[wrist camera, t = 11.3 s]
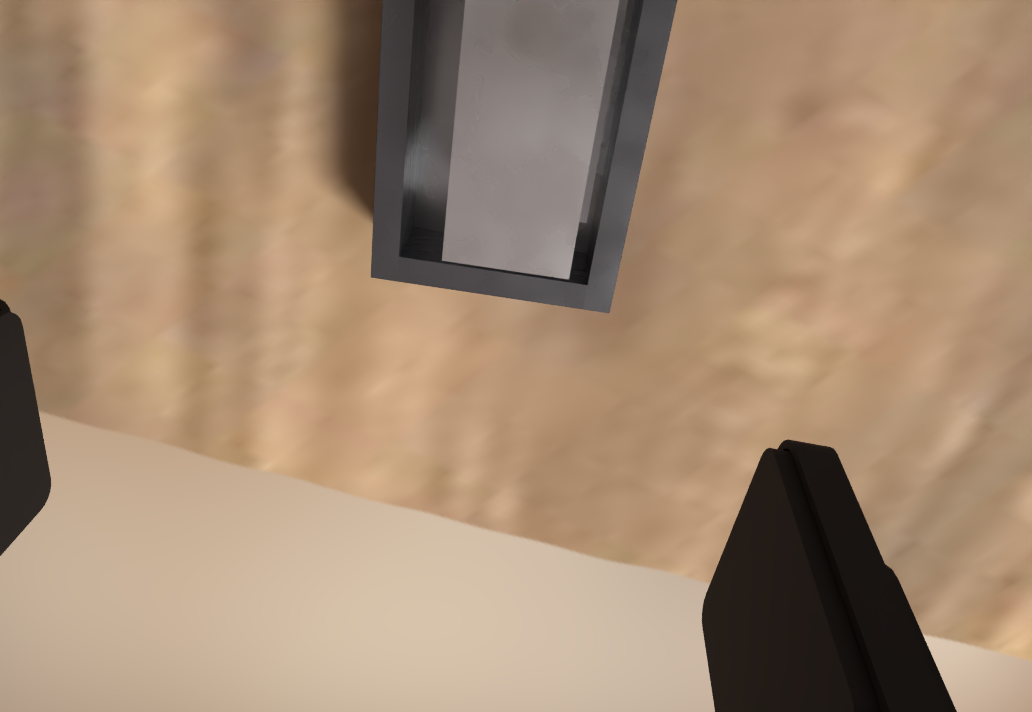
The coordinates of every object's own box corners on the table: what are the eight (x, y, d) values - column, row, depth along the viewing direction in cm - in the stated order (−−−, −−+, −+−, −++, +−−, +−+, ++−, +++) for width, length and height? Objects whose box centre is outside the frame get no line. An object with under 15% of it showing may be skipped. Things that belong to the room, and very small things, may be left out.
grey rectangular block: (644, -162, 25) (664, -178, 19) (578, 204, 31) (578, 280, 25) (507, -183, 25) (483, -206, 19) (468, 187, 31) (441, 260, 25)
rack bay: (720, -272, 24) (745, -302, 20) (606, 271, 33) (609, 320, 29) (422, -319, 24) (392, -357, 20) (391, 238, 33) (367, 284, 29)
